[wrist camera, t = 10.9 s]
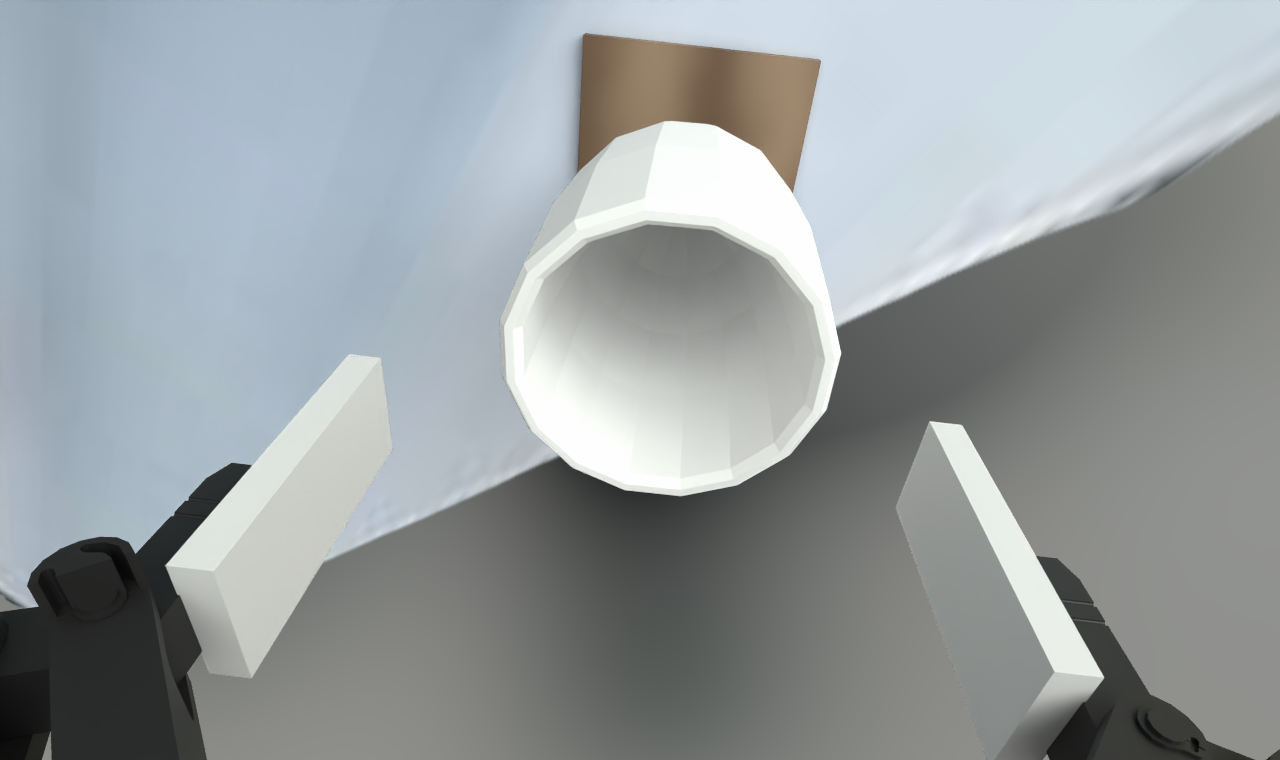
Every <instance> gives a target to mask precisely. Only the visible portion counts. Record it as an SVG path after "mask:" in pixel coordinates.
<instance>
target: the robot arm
mask: <svg viewBox="0 0 1280 760" xmlns="http://www.w3.org/2000/svg"><path fill="white" fill-rule="evenodd" d="M392 449H393V447H392V439H391V431H390V424H389V416H388V408H387V401H386V393H385V386H384V378H383V370H382V363H381V358H378V357H370V356H361V355H352V354H349V355H348V356H347V357H346V358H345V359H344V361H343V362H342V363H341V364H340V365H339V366H338V368H337V369H336V370H335V371H334V372H333V373H332V374H331V376H330V377H329V378H328V379H327V380H326V381H325V382H324V384H323V385H322V386H321V387H320V388H319V389H318V391H317V392H316V393H315V394H314V395H313V396H312V397H311V399H310V400H309V401H308V402H307V403H306V404H305V406H304V407H303V408H302V409H301V410H300V411H299V412H298V414H297V415H296V416H295V417H294V418H293V419H292V420H291V422H290V423H289V424H288V425H287V426H286V427H285V429H284V430H283V431H282V432H281V433H280V434H279V435H278V437H277V438H276V439H275V440H274V441H273V442H272V443H271V445H270V446H269V447H268V448H267V449H266V450H265V452H264V453H263V454H262V455H261V456H260V457H259V458H258V460H257V461H256V462H255V463H254V464H253V465H246V464H237V463H231V464H229V465H228V466H226V467H224V468H223V469H221V470H219V471H218V472H216V473H214V474H213V475H211V476H209V477H208V478H206V479H205V480H204V481H203V482H202V484H201V485H200V486H199V487H198V488H197V489H196V490H195V491H194V492H193V493H192V494H191V495H190V496H189V500H188V501H185V502H184V503H183V504H182V505H181V506H180V507H179V508H178V509H177V510H176V511H175V514H174V516H171V517H170V518H169V519H168V520H167V521H166V522H165V523H164V524H163V525H162V526H161V527H160V528H159V529H158V531H157V532H156V533H155V534H154V535H153V536H152V537H151V538H150V539H149V540H148V541H147V542H146V543H145V544H144V546H143V547H142V548H141V549H140V550H139V551H138V552H137V553H136V554H135V552H134V550H133V549H132V547H131V545H130V544H129V542H127V541H124V540H122V539H119V538H117V537H97V538H92V539H87V540H82V541H79V542H76V543H74V544H71V545H69V546H66V547H64V548H62V549H60V550H58V551H57V552H55V553H54V554H52V555H50V556H49V557H47V558H46V559H44V560H43V561H42V562H41V563H40V564H39V565H38V567H37V568H36V569H35V570H34V571H33V572H32V573H31V576H30V579H29V582H28V585H27V587H28V588H29V590H30V592H31V593H32V595H33V597H34V599H35V600H36V602H37V604H38V606H39V607H33V608H26V609H18V610H11V611H4V612H0V760H42V757H43V754H44V750H45V747H46V744H47V741H48V737H49V734H50V731H51V750H52V760H207V759H206V753H205V748H204V744H203V739H202V734H201V729H200V724H199V719H198V714H197V709H196V704H195V700H194V695H193V690H192V685H191V681H190V679H189V677H188V674H187V672H188V670H189V669H190V667H191V666H192V665H193V663H194V662H195V660H196V659H197V658H198V656H199V655H200V653H201V654H202V657H203V659H204V662H205V664H206V667H207V669H208V672H209V673H212V674H220V675H228V676H237V677H245V678H252V677H253V675H254V674H255V672H256V670H257V669H258V667H259V665H260V664H261V662H262V660H263V659H264V657H265V656H266V654H267V652H268V651H269V649H270V648H271V646H272V644H273V643H274V641H275V639H276V638H277V636H278V635H279V633H280V631H281V630H282V628H283V626H284V625H285V623H286V622H287V620H288V618H289V617H290V615H291V613H292V612H293V610H294V609H295V607H296V605H297V604H298V602H299V600H300V599H301V597H302V596H303V594H304V592H305V591H306V589H307V587H308V586H309V584H310V582H311V581H312V579H313V577H314V576H315V574H316V573H317V571H318V569H319V568H320V566H321V565H322V563H323V561H324V560H325V558H326V556H327V555H328V553H329V552H330V550H331V548H332V547H333V545H334V543H335V542H336V540H337V539H338V537H339V535H340V534H341V532H342V530H343V529H344V527H345V526H346V524H347V522H348V521H349V519H350V517H351V516H352V514H353V513H354V511H355V509H356V508H357V506H358V504H359V503H360V501H361V500H362V498H363V496H364V495H365V493H366V491H367V490H368V488H369V486H370V485H371V483H372V482H373V480H374V478H375V477H376V475H377V473H378V472H379V470H380V469H381V467H382V465H383V464H384V462H385V460H386V459H387V457H388V456H389V454H390V452H391V451H392ZM896 510H897V513H898V516H899V519H900V521H901V524H902V527H903V530H904V532H905V535H906V538H907V541H908V543H909V546H910V549H911V552H912V555H913V557H914V560H915V563H916V566H917V569H918V571H919V574H920V577H921V580H922V583H923V585H924V588H925V591H926V593H927V596H928V599H929V602H930V605H931V608H932V610H933V613H934V616H935V619H936V622H937V624H938V627H939V629H940V633H941V635H942V638H943V641H944V644H945V646H946V649H947V652H948V655H949V658H950V660H951V663H952V666H953V669H954V672H955V674H956V677H957V680H958V683H959V685H960V688H961V691H962V694H963V697H964V699H965V702H966V705H967V708H968V711H969V713H970V716H971V719H972V722H973V724H974V727H975V730H976V733H977V735H978V738H979V741H980V744H981V747H982V749H983V752H984V754H985V758H986V760H1043V758H1044V757H1045V756H1046V755H1047V754H1048V757H1049V759H1050V760H1254V759H1251V758H1249V757H1246V756H1244V755H1241V754H1239V753H1236V752H1233V751H1231V750H1228V749H1226V748H1223V747H1220V746H1218V745H1215V744H1213V743H1211V742H1208V741H1206V739H1205V737H1204V735H1203V734H1202V732H1201V731H1200V730H1199V729H1198V728H1197V726H1196V725H1195V724H1194V723H1193V722H1192V721H1191V720H1190V719H1189V718H1188V717H1187V716H1186V715H1184V714H1183V713H1182V712H1180V711H1179V710H1178V709H1176V708H1175V707H1173V706H1172V705H1171V704H1169V703H1167V702H1165V701H1163V700H1160V699H1159V698H1156V697H1154V696H1152V695H1150V694H1149V692H1148V690H1147V689H1146V687H1145V685H1144V684H1143V682H1142V681H1141V679H1140V677H1139V676H1138V674H1137V672H1136V671H1135V669H1134V668H1133V666H1132V664H1131V663H1130V661H1129V660H1128V658H1127V656H1126V654H1125V653H1124V651H1123V650H1122V648H1121V646H1120V645H1119V643H1118V641H1117V640H1116V638H1115V637H1114V635H1113V633H1112V632H1111V630H1110V629H1109V627H1108V626H1105V620H1104V619H1103V617H1102V615H1101V614H1100V612H1099V610H1098V609H1097V607H1094V606H1093V601H1092V599H1091V597H1090V596H1089V594H1088V592H1087V591H1086V589H1085V588H1084V586H1083V584H1082V583H1081V581H1080V580H1079V579H1078V578H1077V577H1076V576H1075V575H1074V574H1073V573H1072V572H1071V571H1070V570H1069V569H1068V568H1067V567H1066V566H1064V565H1063V564H1062V563H1061V562H1060V561H1059V560H1058V559H1057V558H1048V557H1039V556H1035V554H1034V552H1033V550H1032V549H1031V547H1030V545H1029V543H1028V541H1027V540H1026V538H1025V536H1024V535H1023V533H1022V531H1021V529H1020V527H1019V526H1018V524H1017V522H1016V520H1015V518H1014V517H1013V515H1012V513H1011V511H1010V510H1009V508H1008V506H1007V504H1006V502H1005V501H1004V499H1003V497H1002V495H1001V494H1000V492H999V490H998V488H997V486H996V485H995V483H994V481H993V479H992V478H991V476H990V474H989V472H988V470H987V469H986V467H985V465H984V464H983V462H982V460H981V458H980V456H979V455H978V453H977V451H976V449H975V448H974V446H973V444H972V442H971V441H970V439H969V437H968V435H967V433H966V431H965V430H964V428H963V426H962V425H957V424H948V423H939V422H931V421H930V422H929V424H928V427H927V429H926V432H925V434H924V437H923V439H922V442H921V444H920V447H919V450H918V452H917V455H916V457H915V460H914V462H913V465H912V467H911V470H910V472H909V475H908V477H907V480H906V483H905V485H904V487H903V490H902V492H901V495H900V498H899V500H898V503H897V505H896ZM1267 760H1280V750H1278V751H1277V752H1275V753H1274V754H1273V755H1271V756H1270V757H1269V758H1268V759H1267Z"/></svg>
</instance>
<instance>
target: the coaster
mask: <svg viewBox="0 0 1280 760" xmlns="http://www.w3.org/2000/svg"><path fill="white" fill-rule="evenodd" d="M820 63H821V61H820V60H819V59H810V58H801V57H792V56H783V55H774V54H765V53H756V52H748V51H739V50H730V49H721V48H712V47H703V46H694V45H685V44H676V43H667V42H658V41H649V40H640V39H631V38H622V37H613V36H604V35H595V34H586V33H585V34H584V36H583V60H582V84H581V107H580V131H579V155H578V172H579V171H580V170H581V169H582V168H583V167H584V166H585V165H586V164H587V163H589V162H590V161H591V160H592V159H593V158H594V157H595V156H596V155H597V154H598V153H600V152H601V151H602V150H603V149H604V148H605V147H606V146H607V145H608V144H609V143H611V142H612V141H613V140H614V139H615V138H616V137H619V136H622V135H625V134H628V133H631V132H634V131H637V130H640V129H643V128H646V127H649V126H652V125H655V124H658V123H661V122H664V121H678V122H690V123H701V124H710V125H714V126H717V127H719V128H721V129H723V130H724V131H726V132H728V133H730V134H732V135H734V136H735V137H737V138H739V139H741V140H743V141H744V142H746V143H748V144H750V145H752V146H754V147H755V148H757V149H759V150H761V152H762V153H763V154H764V155H765V157H766V158H767V159H768V161H769V162H770V163H771V165H772V166H773V167H774V169H775V170H776V171H777V173H778V174H779V175H780V177H781V178H782V179H783V181H784V182H785V183H786V185H787V186H788V187H789V189H790V190H791V192H792V194H793V189H794V185H795V180H796V175H797V171H798V166H799V161H800V157H801V152H802V147H803V143H804V138H805V133H806V129H807V124H808V119H809V115H810V110H811V105H812V101H813V96H814V91H815V87H816V82H817V77H818V73H819V68H820Z"/></svg>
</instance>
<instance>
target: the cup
mask: <svg viewBox="0 0 1280 760" xmlns="http://www.w3.org/2000/svg"><path fill="white" fill-rule="evenodd" d="M500 337H501V357H502V377H503V379H504V381H505V383H506V385H507V387H508V389H509V391H510V393H511V395H512V397H513V399H514V401H515V403H516V405H517V407H518V408H519V410H520V412H521V414H522V416H523V418H524V420H525V422H526V424H527V426H528V428H529V429H530V430H531V431H532V432H534V433H535V434H536V435H537V436H538V437H539V438H540V439H541V440H542V441H544V442H545V443H546V444H547V445H548V446H549V447H550V448H551V449H552V450H554V451H555V452H556V453H557V454H558V455H559V456H560V457H561V458H562V459H564V460H565V461H566V462H567V463H568V464H569V465H570V466H571V467H573V468H575V469H577V470H579V471H582V472H584V473H586V474H589V475H591V476H594V477H596V478H598V479H600V480H603V481H605V482H607V483H610V484H612V485H614V486H616V487H619V488H621V489H623V490H629V491H639V492H648V493H657V494H667V495H676V496H684V495H689V494H694V493H700V492H705V491H710V490H715V489H719V488H725V487H730V486H735V485H738V484H740V483H742V482H744V481H745V480H747V479H749V478H751V477H752V476H754V475H756V474H757V473H759V472H761V471H762V470H765V469H766V468H768V467H770V466H772V465H773V464H775V463H777V462H778V461H780V460H782V459H784V458H786V457H787V456H789V455H790V454H791V453H792V452H793V450H794V449H795V448H796V447H797V445H798V444H799V443H800V442H801V441H802V439H803V438H804V437H805V436H806V434H807V433H808V432H809V431H810V429H811V428H812V427H813V426H814V424H815V423H816V422H817V421H818V420H819V418H820V417H821V416H822V415H823V413H824V412H825V411H826V409H827V405H828V402H829V398H830V394H831V390H832V386H833V382H834V379H835V375H836V371H837V367H838V363H839V359H840V356H841V351H840V347H839V342H838V337H837V332H836V328H835V323H834V318H833V313H832V309H831V304H830V299H829V294H828V290H827V287H826V283H825V279H824V275H823V272H822V268H821V264H820V260H819V257H818V253H817V249H816V245H815V241H814V238H813V234H812V230H811V227H810V225H809V223H808V221H807V220H806V218H805V216H804V214H803V212H802V210H801V209H800V207H799V205H798V203H797V201H796V199H795V197H794V196H793V194H792V192H791V190H790V189H789V187H788V186H787V185H786V183H785V182H784V181H783V179H782V178H781V177H780V175H779V174H778V173H777V171H776V170H775V169H774V167H773V166H772V165H771V163H770V162H769V161H768V159H767V158H766V157H765V155H764V154H763V153H762V152H761V150H759V149H757V148H755V147H754V146H752V145H750V144H748V143H746V142H744V141H743V140H741V139H739V138H737V137H735V136H734V135H732V134H730V133H728V132H726V131H724V130H723V129H721V128H719V127H717V126H714V125H710V124H701V123H690V122H678V121H664V122H661V123H658V124H655V125H652V126H649V127H646V128H643V129H640V130H637V131H634V132H631V133H628V134H625V135H622V136H619V137H616V138H615V139H614V140H613V141H612V142H611V143H609V144H608V145H607V146H606V147H605V148H604V149H603V150H602V151H601V152H600V153H598V154H597V155H596V156H595V157H594V158H593V159H592V160H591V161H590V162H589V163H587V164H586V165H585V166H584V167H583V168H582V169H581V170H580V171H579V172H578V173H577V174H576V176H575V177H574V178H573V179H572V181H571V182H570V183H569V184H568V186H567V187H566V188H565V189H564V190H563V192H562V193H561V194H560V195H559V197H558V198H557V199H556V200H555V202H554V203H553V204H552V206H551V208H550V211H549V213H548V215H547V217H546V219H545V221H544V223H543V225H542V227H541V229H540V231H539V233H538V235H537V237H536V240H535V242H534V244H533V246H532V248H531V250H530V252H529V254H528V256H527V258H526V260H525V262H524V264H523V267H522V269H521V271H520V274H519V276H518V278H517V281H516V283H515V285H514V288H513V290H512V292H511V295H510V297H509V299H508V302H507V304H506V306H505V309H504V311H503V313H502V316H501V318H500Z"/></svg>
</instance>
